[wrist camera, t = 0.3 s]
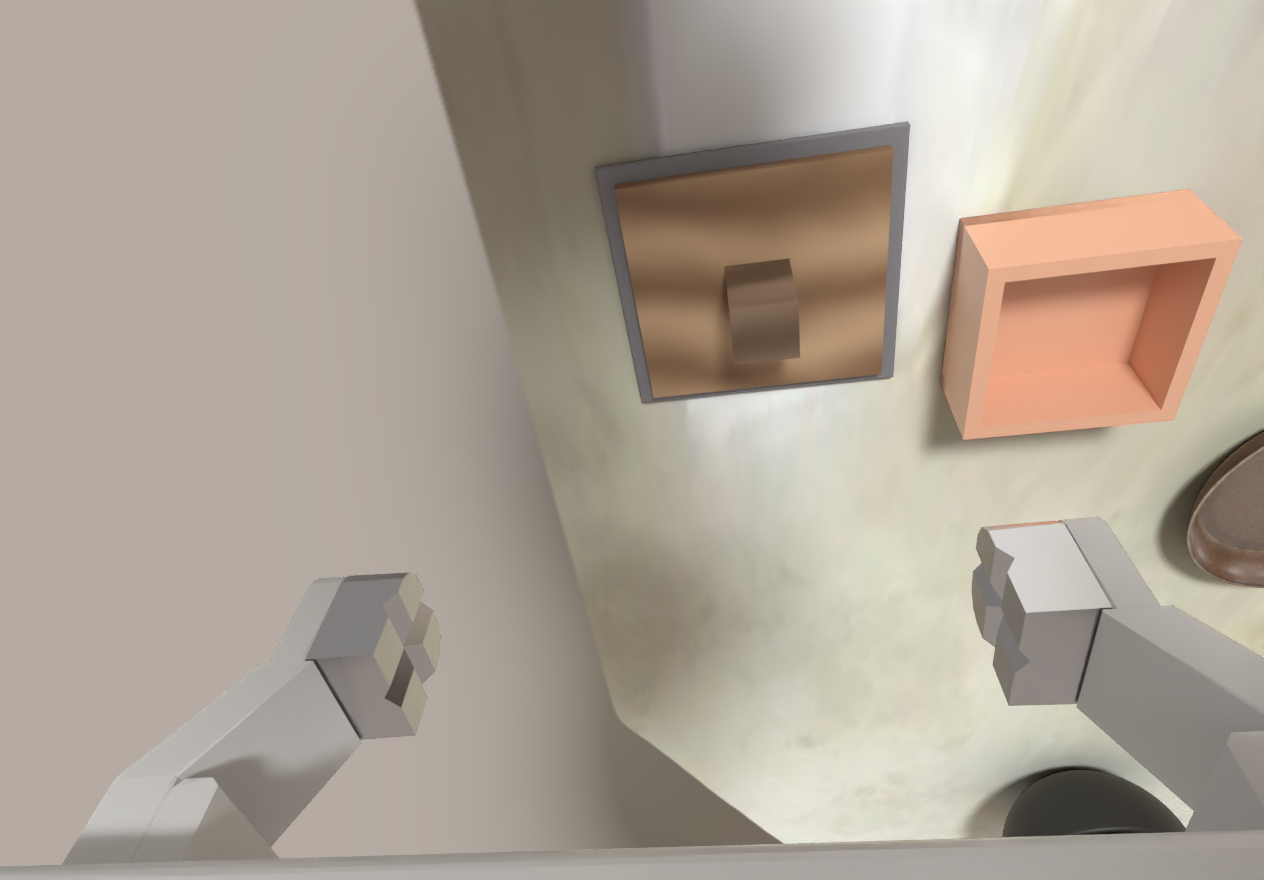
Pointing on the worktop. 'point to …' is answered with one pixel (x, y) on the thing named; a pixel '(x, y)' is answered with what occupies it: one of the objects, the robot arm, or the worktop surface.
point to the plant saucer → (1232, 519)
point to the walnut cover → (761, 271)
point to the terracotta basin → (1081, 313)
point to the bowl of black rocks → (1087, 807)
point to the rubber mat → (749, 156)
